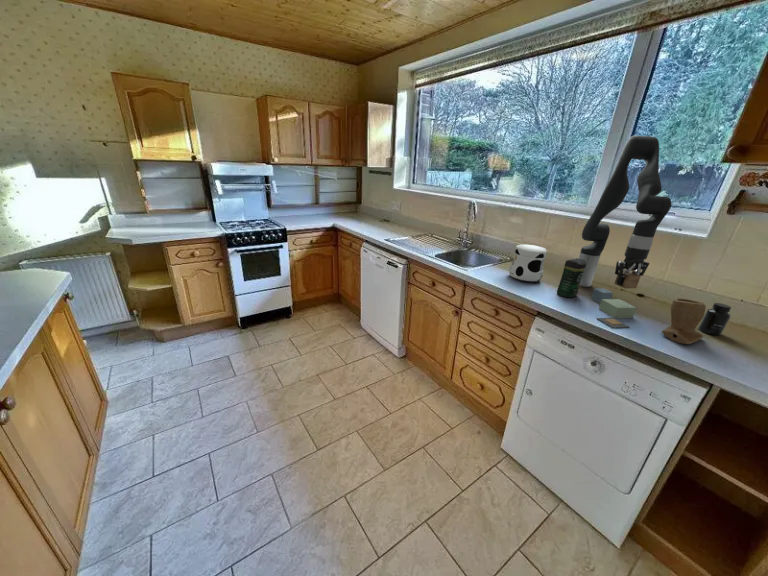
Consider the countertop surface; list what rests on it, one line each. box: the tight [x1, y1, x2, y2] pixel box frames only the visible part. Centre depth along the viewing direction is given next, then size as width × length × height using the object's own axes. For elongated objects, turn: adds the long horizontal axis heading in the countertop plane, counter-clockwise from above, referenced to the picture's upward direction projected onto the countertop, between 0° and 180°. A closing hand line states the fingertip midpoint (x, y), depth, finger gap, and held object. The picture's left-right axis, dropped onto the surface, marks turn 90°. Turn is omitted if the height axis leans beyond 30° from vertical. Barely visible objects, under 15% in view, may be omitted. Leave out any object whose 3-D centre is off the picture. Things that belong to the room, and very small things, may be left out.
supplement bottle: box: [698, 302, 732, 337], centre depth 127 cm, size 7×7×12 cm
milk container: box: [508, 243, 547, 283], centre depth 175 cm, size 17×17×18 cm
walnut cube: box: [614, 271, 642, 289], centre depth 136 cm, size 6×6×6 cm
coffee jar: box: [556, 257, 586, 299], centre depth 156 cm, size 10×8×19 cm
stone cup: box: [661, 297, 707, 345], centre depth 121 cm, size 15×12×15 cm
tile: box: [596, 316, 630, 329], centre depth 131 cm, size 8×8×1 cm
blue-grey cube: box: [590, 287, 614, 304], centre depth 153 cm, size 6×6×6 cm
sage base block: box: [598, 298, 637, 319], centre depth 141 cm, size 9×9×5 cm
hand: (625, 284), depth 137 cm, fingers closed on walnut cube, 5 cm apart
